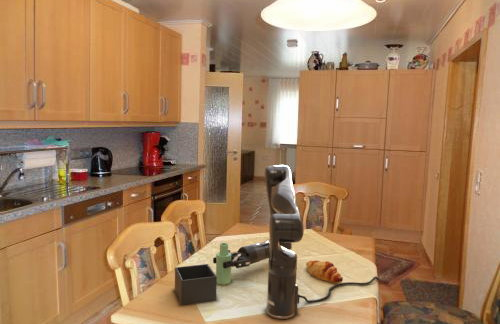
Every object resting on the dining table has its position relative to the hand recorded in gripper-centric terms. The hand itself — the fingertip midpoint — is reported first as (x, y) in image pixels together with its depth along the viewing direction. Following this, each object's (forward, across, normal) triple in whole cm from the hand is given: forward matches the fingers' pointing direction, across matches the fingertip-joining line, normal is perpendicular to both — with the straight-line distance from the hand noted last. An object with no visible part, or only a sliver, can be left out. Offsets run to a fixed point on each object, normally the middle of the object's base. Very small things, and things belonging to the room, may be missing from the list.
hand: (218, 263), depth 148 cm
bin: (+13, +3, +8) cm, 15 cm away
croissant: (-39, +20, +8) cm, 44 cm away
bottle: (-2, 0, +8) cm, 8 cm away
